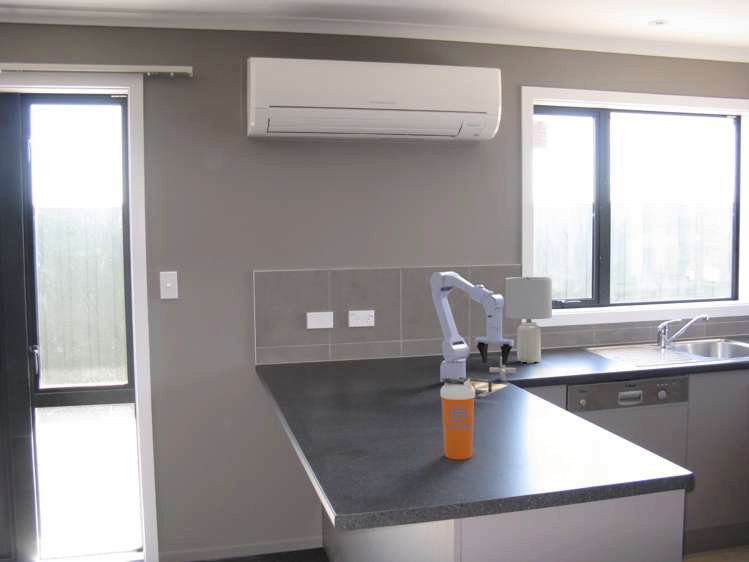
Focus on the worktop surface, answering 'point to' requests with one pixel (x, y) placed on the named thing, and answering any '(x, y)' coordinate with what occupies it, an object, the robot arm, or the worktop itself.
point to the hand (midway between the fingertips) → (494, 363)
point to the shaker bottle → (458, 417)
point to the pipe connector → (502, 370)
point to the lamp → (529, 312)
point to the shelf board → (486, 386)
